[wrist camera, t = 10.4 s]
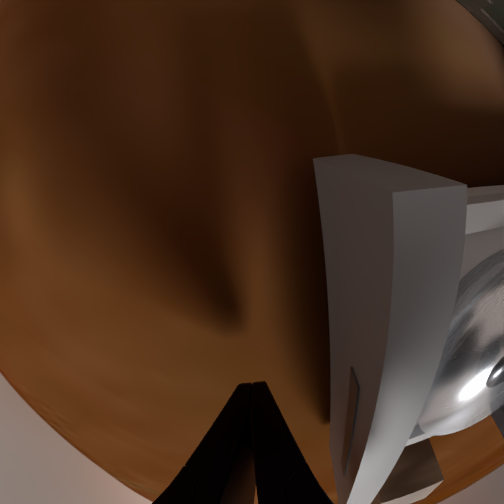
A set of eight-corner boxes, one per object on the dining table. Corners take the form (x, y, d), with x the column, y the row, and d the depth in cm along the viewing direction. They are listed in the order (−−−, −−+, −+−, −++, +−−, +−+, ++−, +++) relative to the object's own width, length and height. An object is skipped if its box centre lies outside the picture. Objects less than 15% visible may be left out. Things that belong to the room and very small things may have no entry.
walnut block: (425, 431, 13) (444, 479, 9) (411, 456, 14) (424, 498, 10) (367, 450, 13) (380, 503, 9) (360, 472, 14) (369, 516, 11)
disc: (555, 235, 6) (583, 252, 4) (508, 374, 8) (523, 396, 7) (422, 265, 6) (456, 298, 5) (386, 423, 9) (396, 455, 7)
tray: (556, 153, 5) (628, 179, 1) (501, 382, 10) (531, 430, 6) (310, 158, 6) (387, 193, 2) (328, 445, 11) (339, 518, 7)
